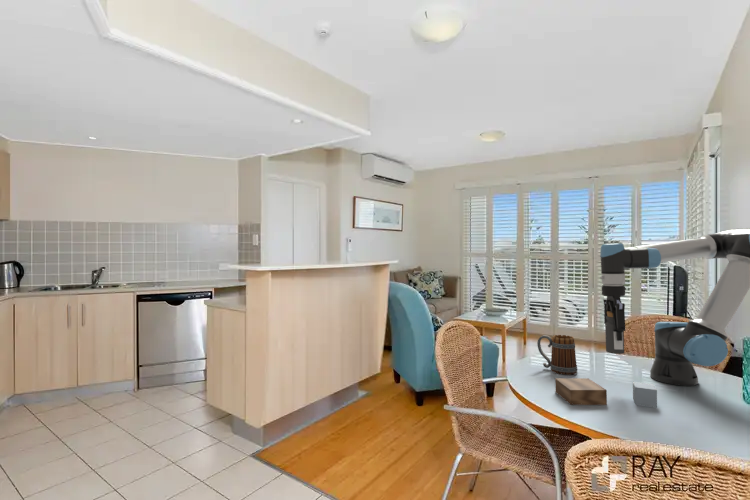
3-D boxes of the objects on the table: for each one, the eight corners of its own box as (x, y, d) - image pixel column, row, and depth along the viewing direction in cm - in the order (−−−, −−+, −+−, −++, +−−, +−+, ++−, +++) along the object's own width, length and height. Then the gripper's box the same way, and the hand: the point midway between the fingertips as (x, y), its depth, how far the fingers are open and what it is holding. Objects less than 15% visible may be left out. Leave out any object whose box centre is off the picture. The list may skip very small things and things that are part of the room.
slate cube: (653, 401, 134) (653, 384, 134) (657, 408, 129) (656, 389, 129) (633, 398, 137) (632, 381, 137) (635, 405, 132) (635, 387, 132)
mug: (578, 370, 170) (578, 335, 170) (576, 377, 161) (575, 340, 161) (540, 365, 178) (539, 332, 178) (535, 371, 169) (535, 336, 169)
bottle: (627, 354, 142) (625, 313, 142) (609, 353, 143) (608, 313, 144) (620, 350, 148) (619, 310, 148) (603, 349, 149) (602, 310, 149)
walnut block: (588, 391, 144) (588, 378, 144) (606, 404, 132) (606, 389, 132) (555, 392, 144) (555, 378, 144) (570, 404, 132) (570, 390, 132)
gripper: (593, 282, 156) (595, 341, 156) (611, 287, 137) (613, 353, 137) (614, 282, 154) (616, 341, 154) (635, 287, 136) (637, 353, 136)
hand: (615, 346), depth 146 cm, fingers closed on bottle, 6 cm apart
